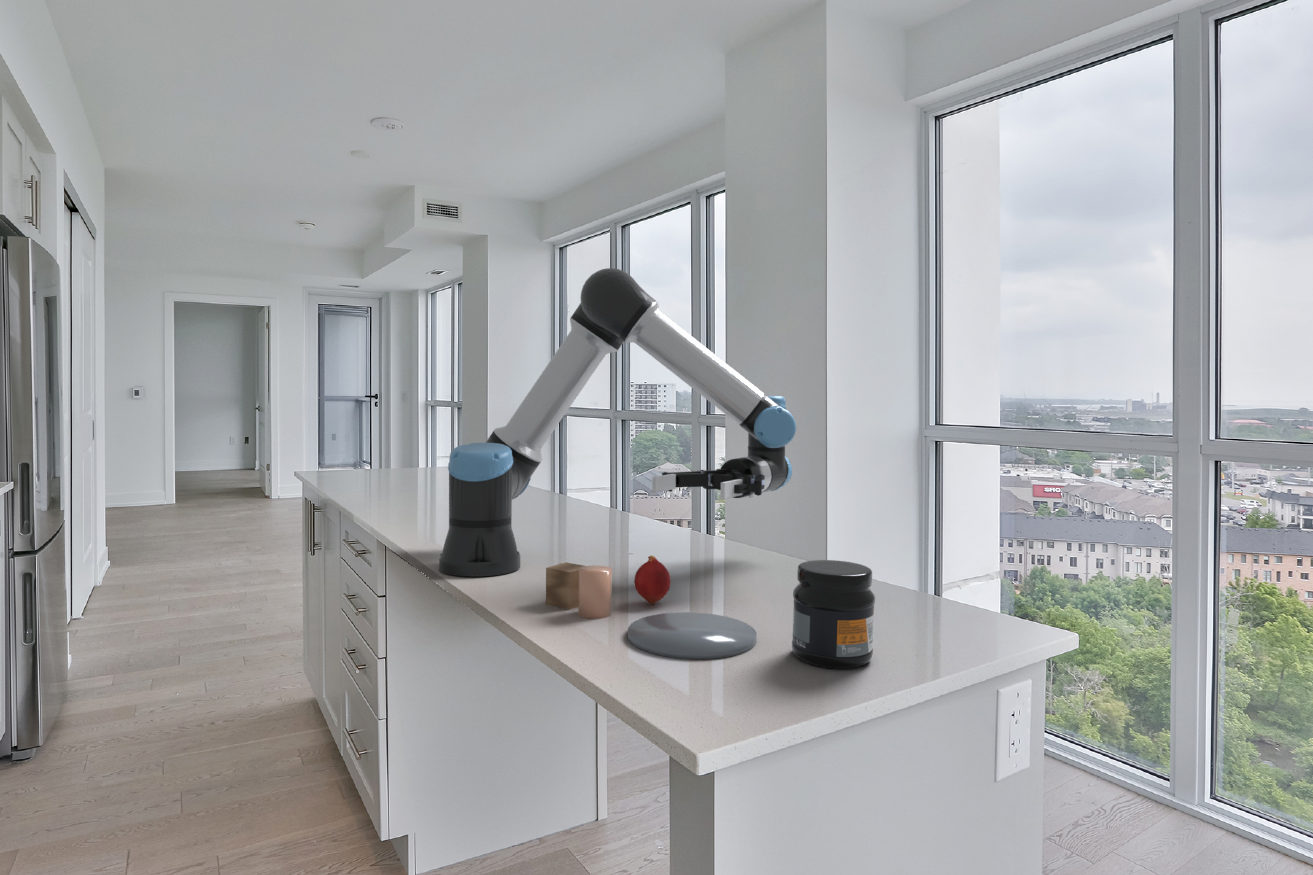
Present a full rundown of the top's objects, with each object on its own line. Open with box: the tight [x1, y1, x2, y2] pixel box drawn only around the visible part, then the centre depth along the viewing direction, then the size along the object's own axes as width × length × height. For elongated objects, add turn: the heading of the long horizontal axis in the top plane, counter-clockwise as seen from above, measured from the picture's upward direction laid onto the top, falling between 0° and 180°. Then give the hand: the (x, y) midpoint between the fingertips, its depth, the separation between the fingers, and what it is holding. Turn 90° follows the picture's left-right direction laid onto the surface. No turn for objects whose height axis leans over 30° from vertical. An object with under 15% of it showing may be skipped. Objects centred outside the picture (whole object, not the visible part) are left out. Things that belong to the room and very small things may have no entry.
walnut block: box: [545, 562, 585, 611], centre depth 127 cm, size 5×5×6 cm
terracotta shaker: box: [577, 565, 613, 620], centre depth 122 cm, size 5×5×7 cm
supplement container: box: [791, 559, 876, 670], centre depth 104 cm, size 10×10×12 cm
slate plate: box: [627, 611, 757, 660], centre depth 111 cm, size 18×18×1 cm
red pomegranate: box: [633, 554, 672, 605], centre depth 128 cm, size 6×6×8 cm
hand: (687, 487), depth 135 cm, fingers open, 13 cm apart
